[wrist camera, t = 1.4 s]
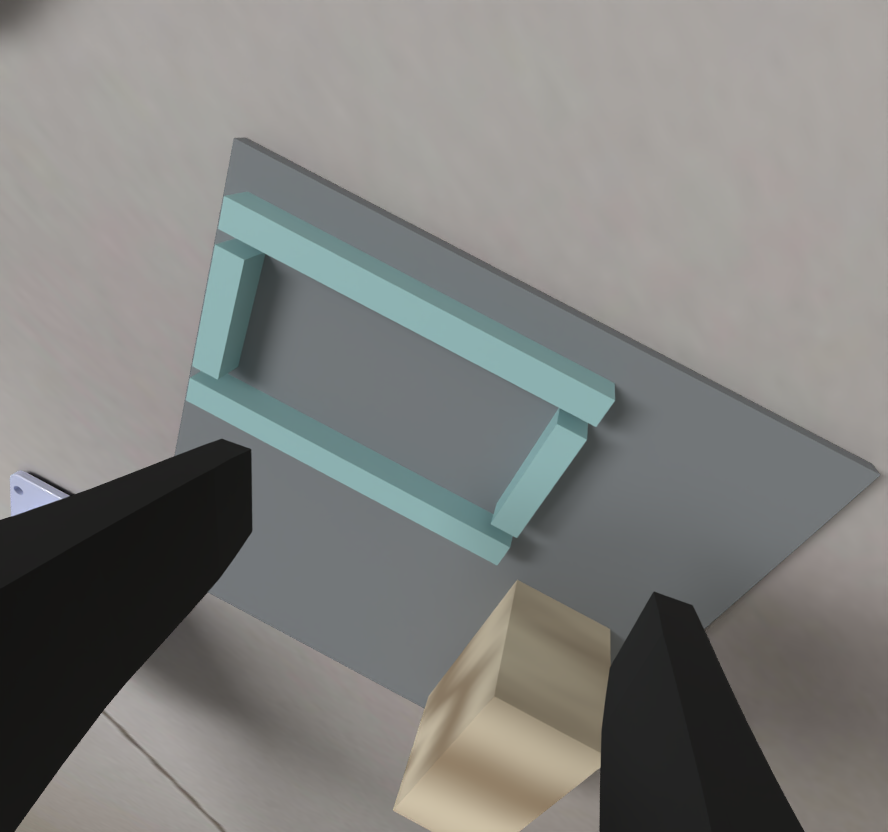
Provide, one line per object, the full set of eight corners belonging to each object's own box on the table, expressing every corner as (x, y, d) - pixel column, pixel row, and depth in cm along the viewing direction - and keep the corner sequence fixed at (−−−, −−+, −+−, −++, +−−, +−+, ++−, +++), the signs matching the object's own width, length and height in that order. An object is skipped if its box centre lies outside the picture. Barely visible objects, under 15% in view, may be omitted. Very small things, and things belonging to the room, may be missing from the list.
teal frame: (502, 543, 20) (497, 565, 19) (206, 386, 20) (185, 399, 19) (614, 382, 16) (615, 400, 15) (247, 191, 17) (224, 195, 16)
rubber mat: (542, 758, 27) (541, 771, 26) (163, 555, 27) (154, 563, 26) (871, 463, 16) (880, 474, 16) (245, 137, 16) (233, 137, 16)
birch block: (504, 736, 26) (483, 859, 21) (428, 696, 26) (392, 810, 21) (610, 629, 21) (611, 758, 17) (517, 579, 21) (494, 696, 17)
